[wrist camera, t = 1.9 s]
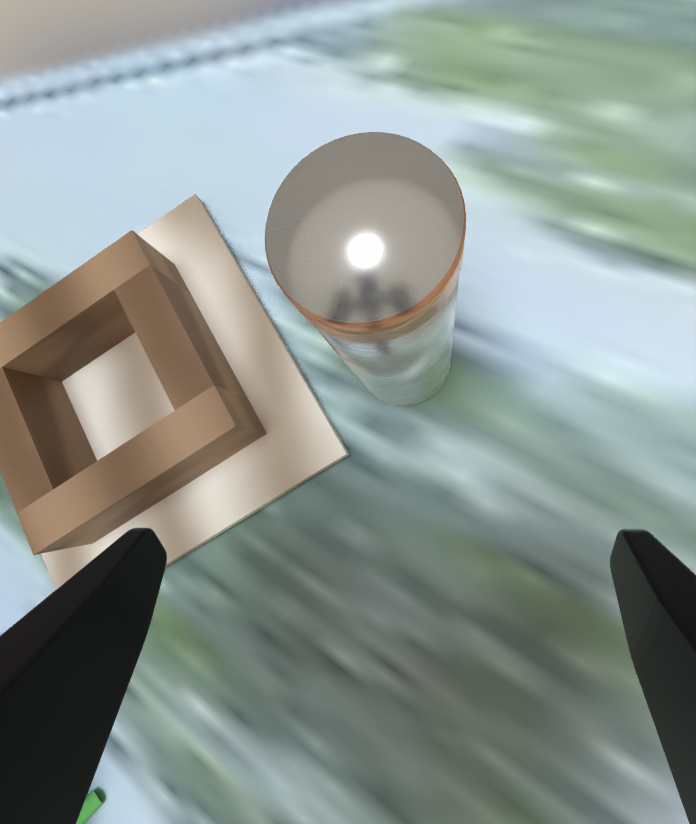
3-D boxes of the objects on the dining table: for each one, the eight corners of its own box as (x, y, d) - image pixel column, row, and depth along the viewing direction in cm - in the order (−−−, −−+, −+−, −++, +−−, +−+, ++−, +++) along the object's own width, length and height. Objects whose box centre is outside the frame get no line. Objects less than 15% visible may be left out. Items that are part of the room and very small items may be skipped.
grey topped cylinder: (387, 425, 22) (324, 363, 10) (340, 347, 23) (230, 206, 11) (470, 374, 22) (509, 245, 10) (419, 297, 23) (394, 92, 11)
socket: (81, 619, 24) (4, 649, 20) (-24, 360, 27) (-109, 338, 23) (349, 454, 22) (328, 449, 18) (202, 202, 26) (156, 149, 21)
